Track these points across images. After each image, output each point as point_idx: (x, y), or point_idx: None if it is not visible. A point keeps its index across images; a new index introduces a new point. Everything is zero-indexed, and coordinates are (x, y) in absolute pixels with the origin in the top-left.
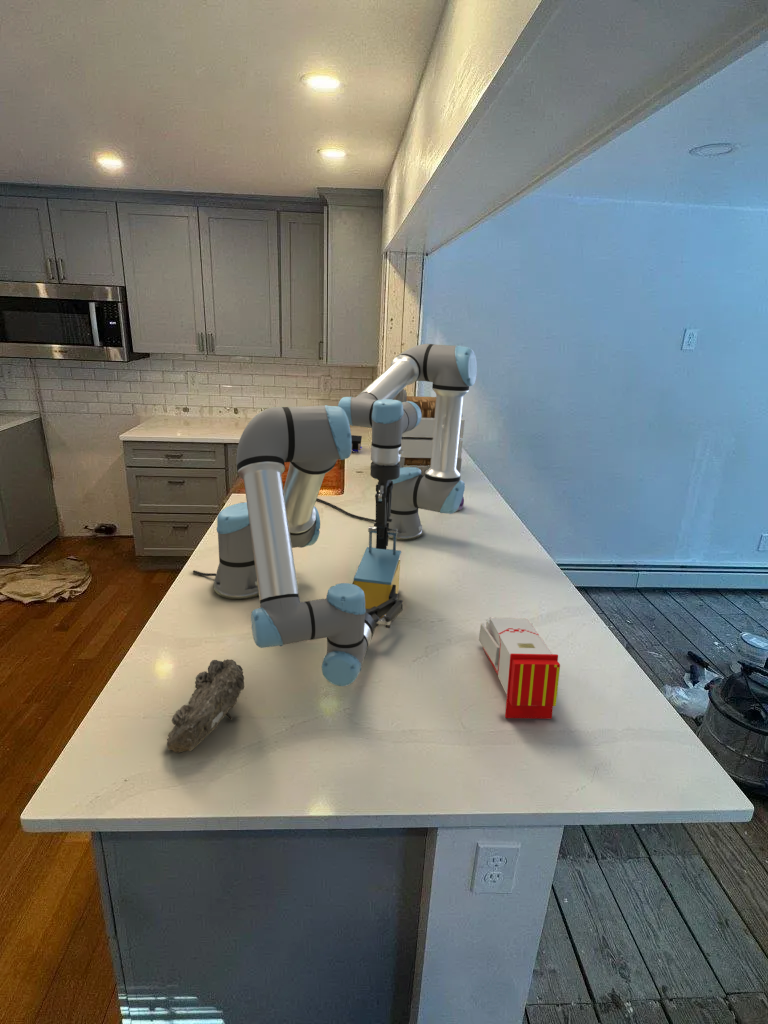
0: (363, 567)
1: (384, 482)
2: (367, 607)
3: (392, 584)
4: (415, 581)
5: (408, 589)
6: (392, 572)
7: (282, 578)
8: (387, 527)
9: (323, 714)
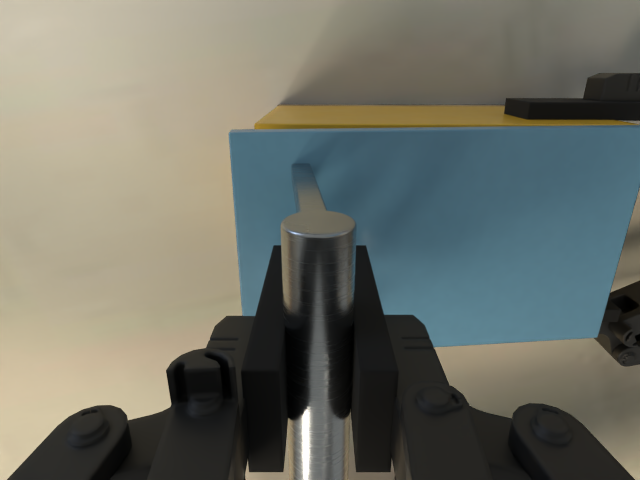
0: (490, 319)
1: None
2: None
3: (564, 121)
4: (141, 36)
5: (236, 60)
6: (541, 140)
7: None
8: (282, 347)
9: None
